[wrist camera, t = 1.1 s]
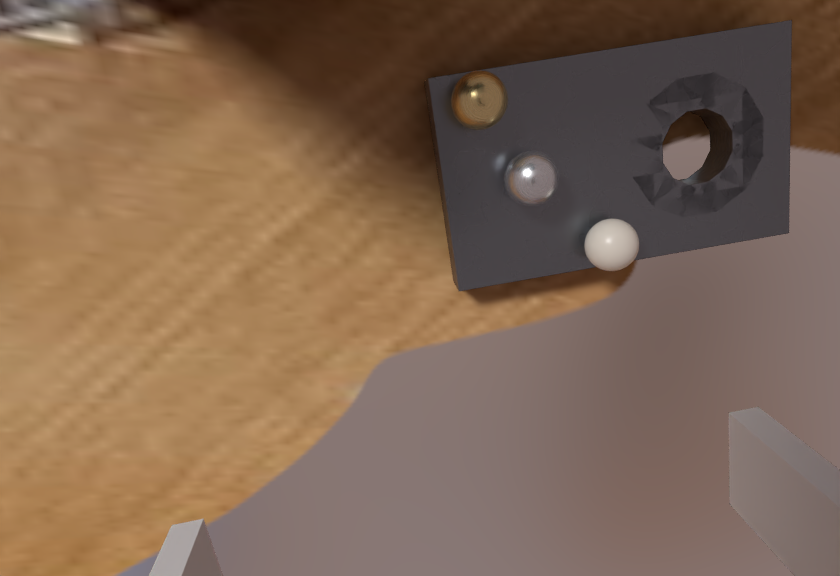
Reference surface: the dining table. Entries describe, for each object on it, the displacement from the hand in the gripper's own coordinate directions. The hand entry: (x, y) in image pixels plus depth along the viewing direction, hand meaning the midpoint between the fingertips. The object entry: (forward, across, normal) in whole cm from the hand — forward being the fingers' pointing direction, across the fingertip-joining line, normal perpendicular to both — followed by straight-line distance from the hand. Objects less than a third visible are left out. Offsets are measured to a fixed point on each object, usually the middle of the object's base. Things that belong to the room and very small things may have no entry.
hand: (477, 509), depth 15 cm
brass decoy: (+22, +6, +9) cm, 25 cm away
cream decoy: (+22, +12, -1) cm, 25 cm away
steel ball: (+22, +8, +4) cm, 24 cm away
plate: (+26, +14, +4) cm, 30 cm away
